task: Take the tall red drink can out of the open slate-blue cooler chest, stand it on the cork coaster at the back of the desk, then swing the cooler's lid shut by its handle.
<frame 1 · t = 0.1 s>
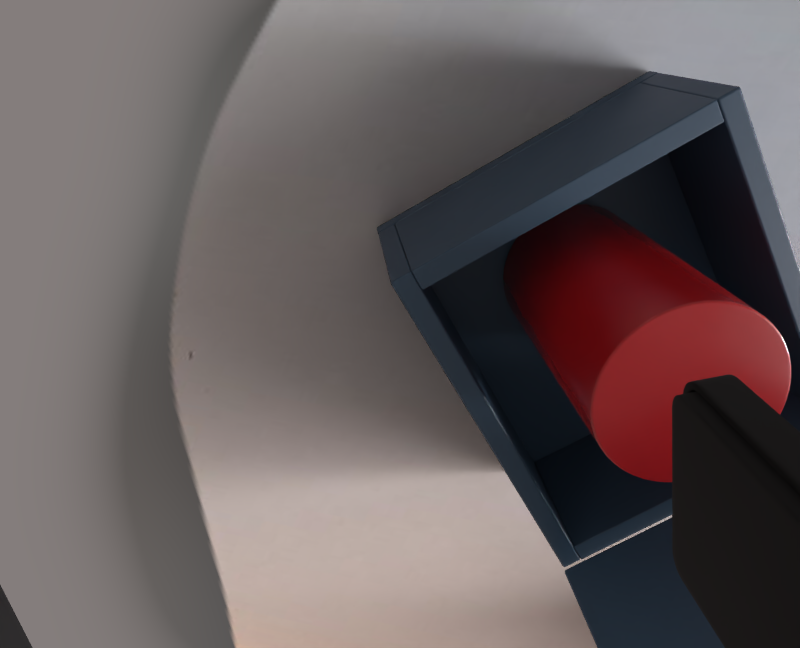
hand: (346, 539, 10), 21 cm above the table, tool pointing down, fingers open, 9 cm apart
can: (571, 272, 31), point 1 cm above the table, touching cooler
cooler: (578, 293, 32), on the table
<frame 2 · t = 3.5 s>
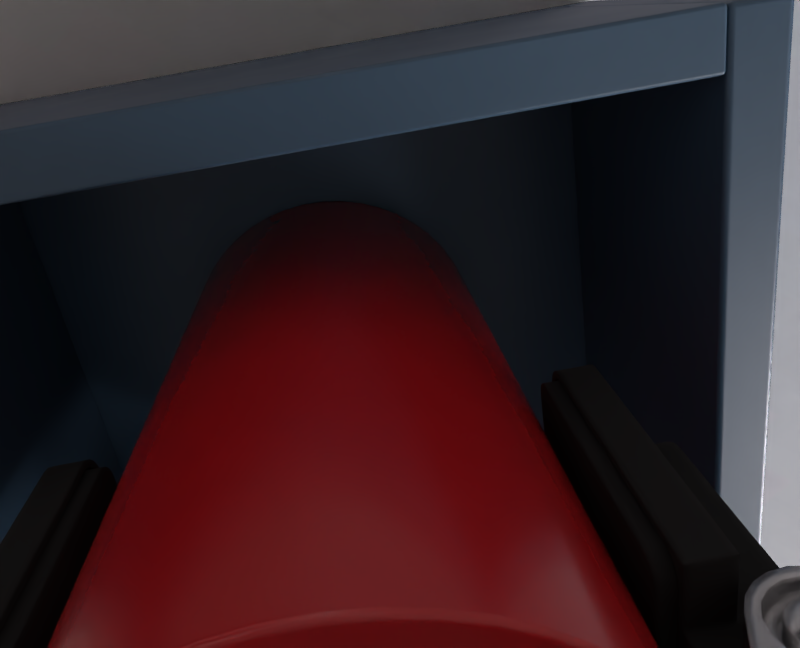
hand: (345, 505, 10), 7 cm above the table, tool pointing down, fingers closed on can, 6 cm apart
can: (337, 334, 16), point 1 cm above the table, touching cooler, gripper
cooler: (348, 377, 17), on the table
when the fingers open (6 cm above the table, at t = 12.0 s): can stays where it is, resting on coaster.
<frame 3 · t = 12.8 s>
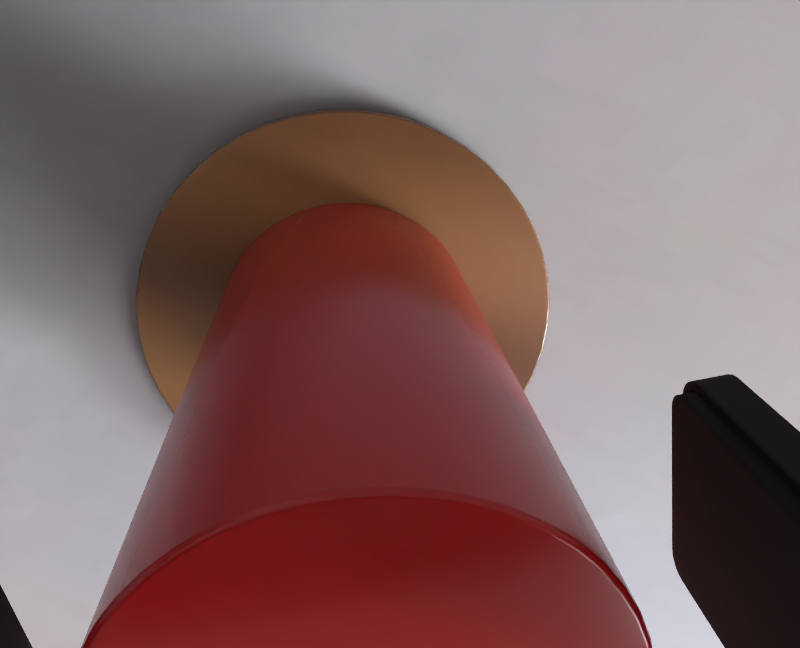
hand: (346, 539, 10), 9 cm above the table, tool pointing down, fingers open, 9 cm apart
can: (347, 323, 17), resting on coaster
coaster: (347, 317, 18), on the table
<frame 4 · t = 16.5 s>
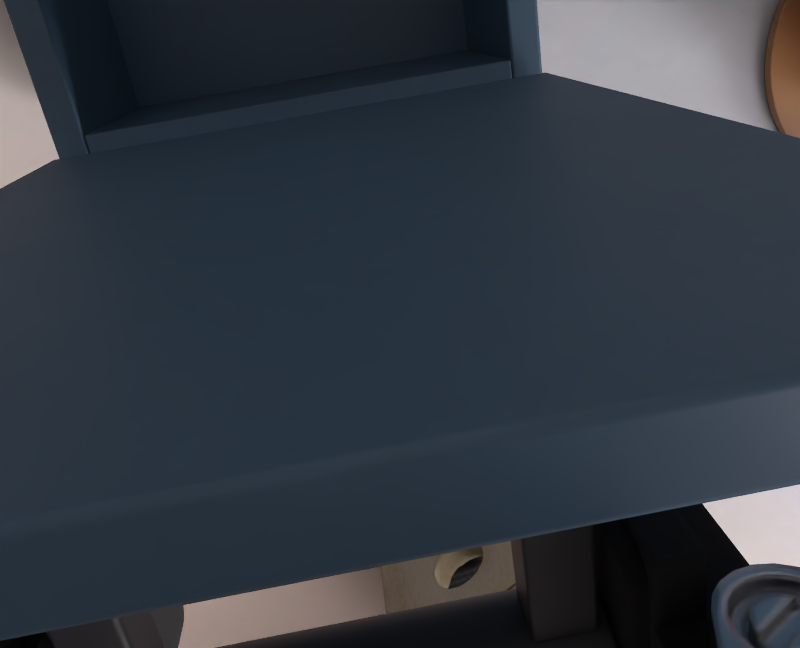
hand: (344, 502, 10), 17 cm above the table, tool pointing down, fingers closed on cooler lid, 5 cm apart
cooler lid: (323, 338, 12), point 15 cm above the table, hinge at 90.0°, touching gripper
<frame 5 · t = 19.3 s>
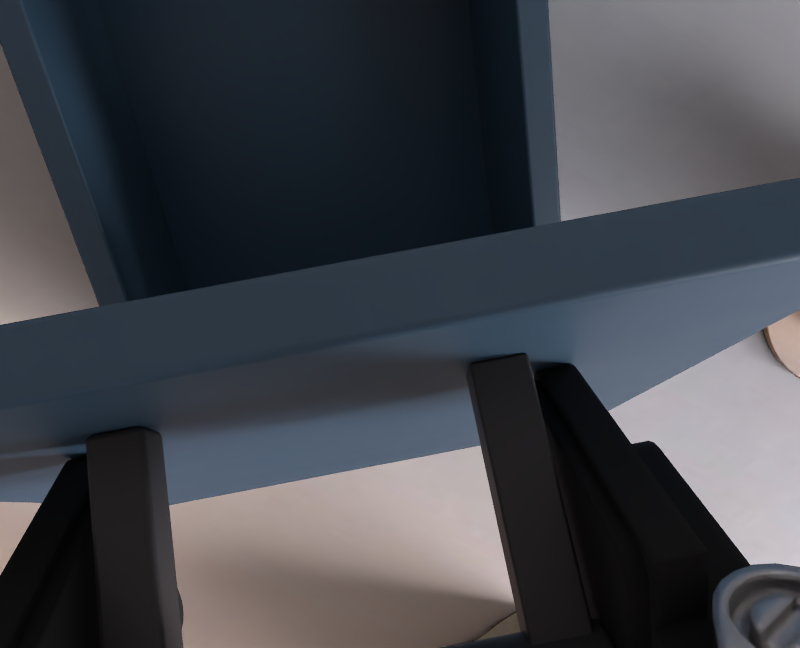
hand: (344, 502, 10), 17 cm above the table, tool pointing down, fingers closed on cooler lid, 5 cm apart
cooler lid: (367, 542, 13), point 15 cm above the table, hinge at 49.3°, touching gripper
cooler: (320, 158, 25), on the table
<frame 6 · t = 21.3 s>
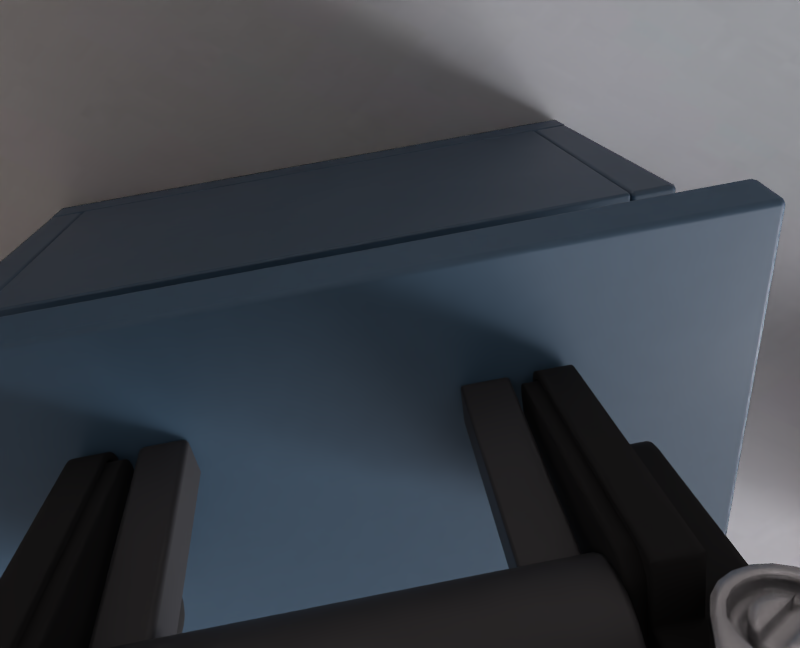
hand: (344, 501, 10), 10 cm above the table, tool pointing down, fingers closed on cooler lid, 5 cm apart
cooler: (362, 406, 21), on the table
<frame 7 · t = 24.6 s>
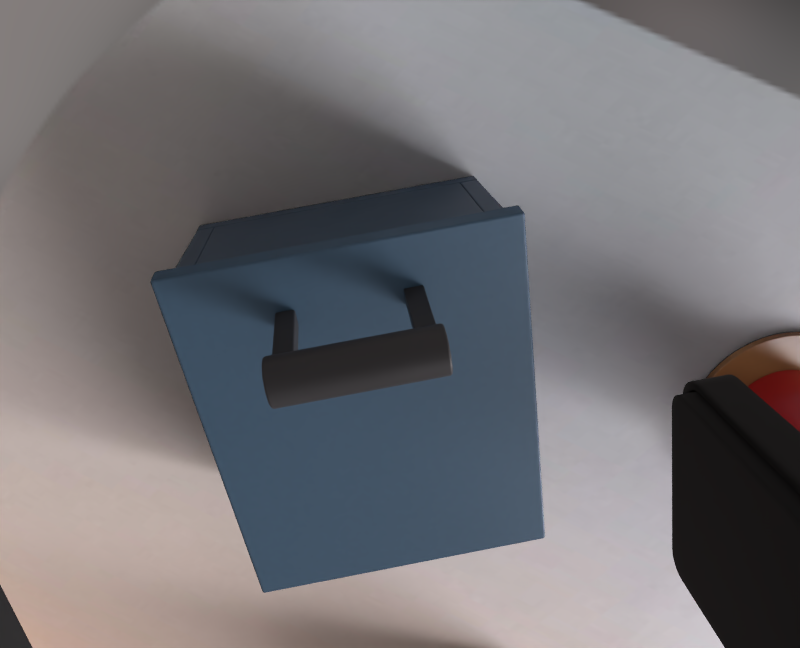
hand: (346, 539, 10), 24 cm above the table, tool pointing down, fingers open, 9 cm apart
can: (776, 418, 39), resting on coaster
cooler lid: (380, 461, 26), point 10 cm above the table, hinge at 6.0°
cooler: (365, 343, 35), on the table
coaster: (773, 414, 39), on the table
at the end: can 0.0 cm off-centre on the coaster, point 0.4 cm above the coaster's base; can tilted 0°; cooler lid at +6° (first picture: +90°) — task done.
